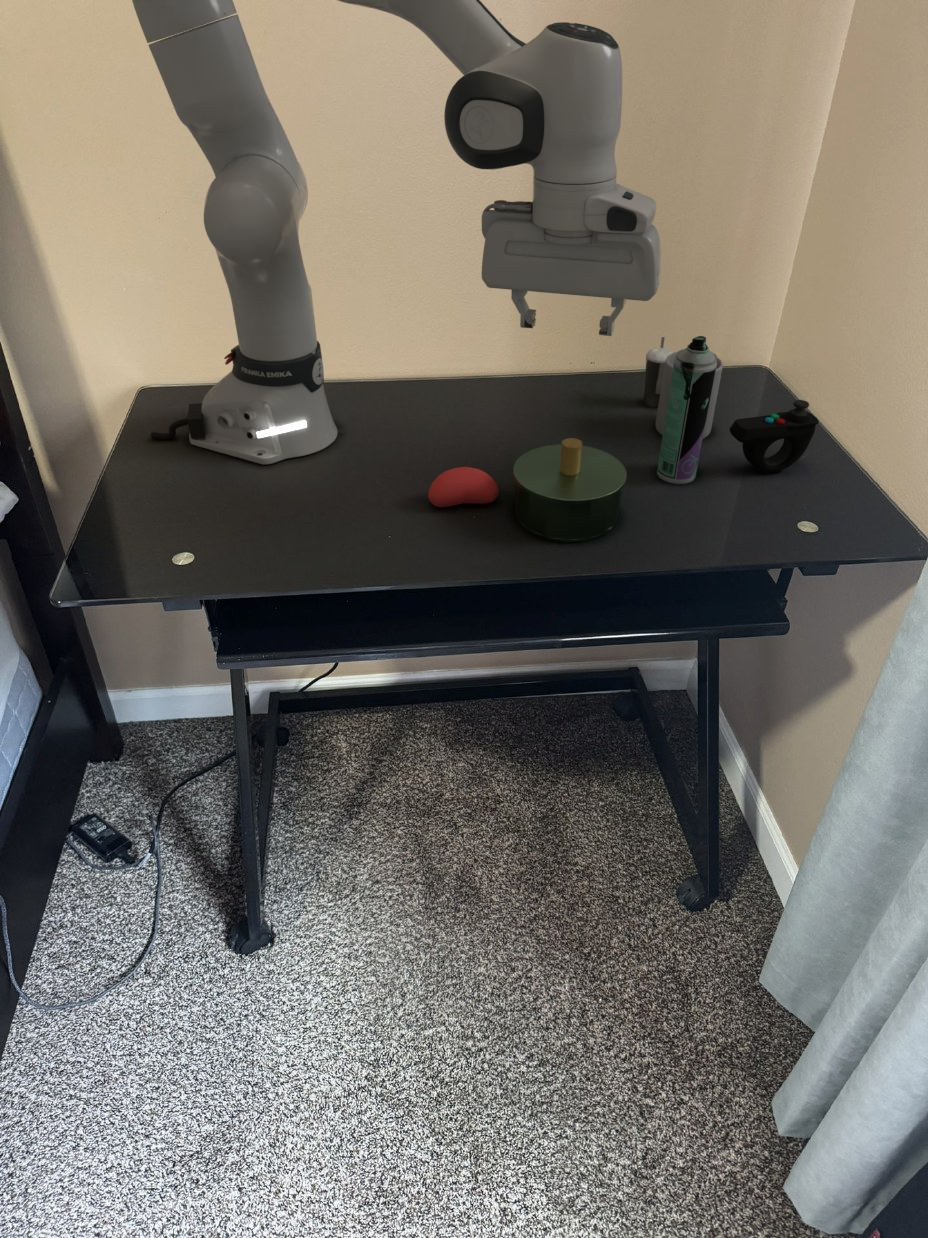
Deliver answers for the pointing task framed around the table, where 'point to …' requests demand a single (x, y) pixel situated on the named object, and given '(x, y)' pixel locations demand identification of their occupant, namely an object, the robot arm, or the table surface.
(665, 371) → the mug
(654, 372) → the milkshake
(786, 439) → the controller
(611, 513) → the tin
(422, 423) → the table surface
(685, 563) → the table surface
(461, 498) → the red bean shape
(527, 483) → the tin lid
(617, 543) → the table surface
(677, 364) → the spray can
